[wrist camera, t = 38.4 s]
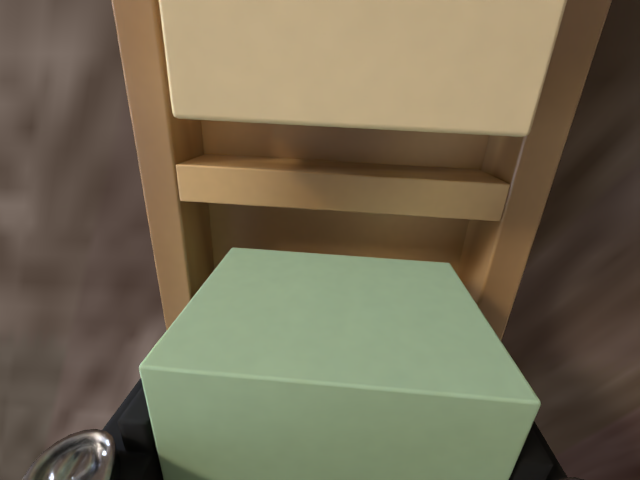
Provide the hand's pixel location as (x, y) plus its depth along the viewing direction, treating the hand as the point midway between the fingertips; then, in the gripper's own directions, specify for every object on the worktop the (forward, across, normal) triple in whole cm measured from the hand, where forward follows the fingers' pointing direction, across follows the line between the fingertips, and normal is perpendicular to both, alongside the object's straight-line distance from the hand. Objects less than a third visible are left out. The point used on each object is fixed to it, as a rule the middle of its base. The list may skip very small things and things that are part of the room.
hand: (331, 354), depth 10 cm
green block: (+1, 0, 0) cm, 1 cm away
